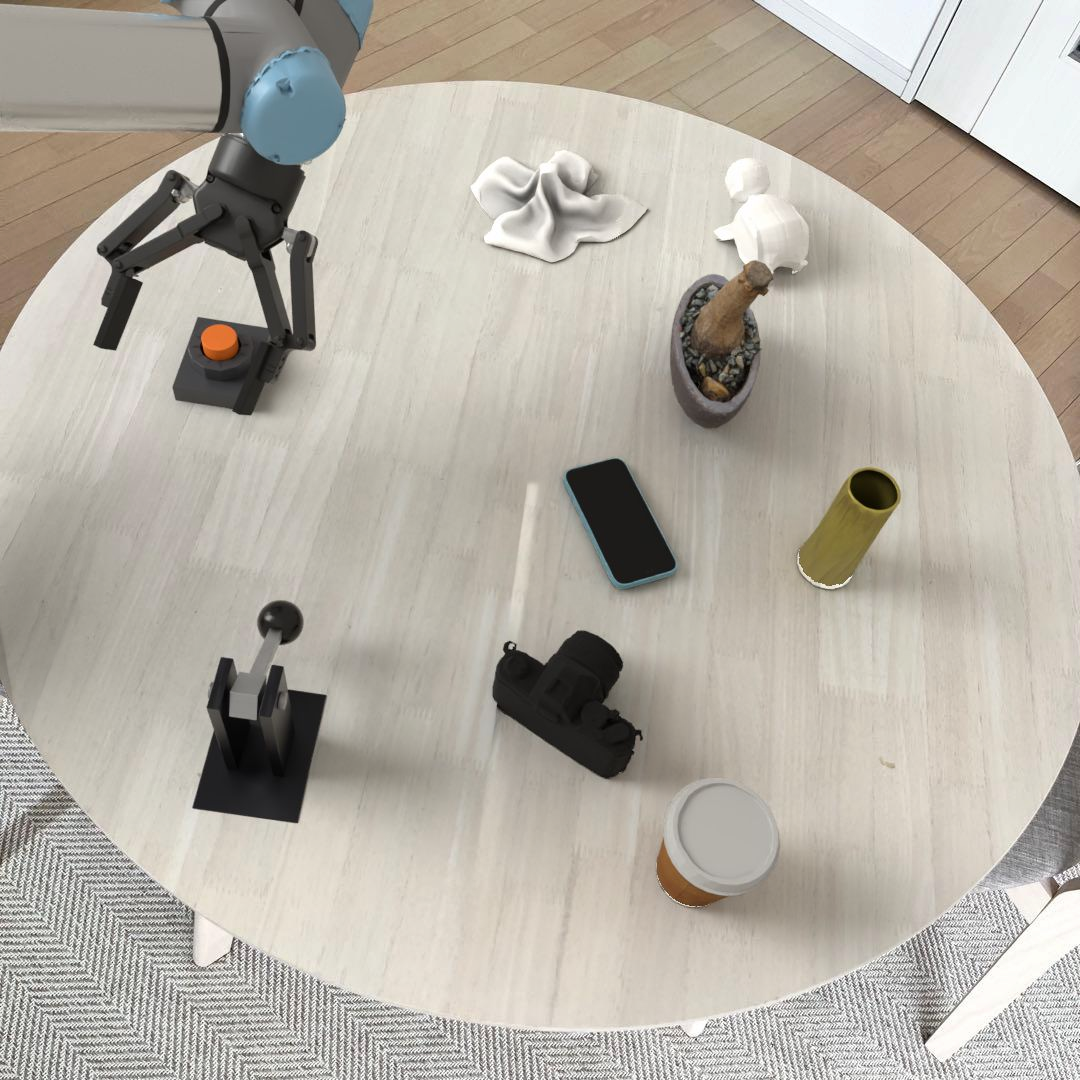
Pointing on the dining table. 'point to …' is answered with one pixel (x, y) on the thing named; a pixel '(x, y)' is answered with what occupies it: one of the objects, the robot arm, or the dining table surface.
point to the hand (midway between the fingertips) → (172, 380)
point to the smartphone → (620, 523)
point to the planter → (717, 345)
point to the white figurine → (763, 220)
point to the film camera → (569, 701)
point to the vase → (849, 526)
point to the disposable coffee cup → (716, 842)
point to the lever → (265, 656)
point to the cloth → (546, 206)
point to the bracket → (259, 750)
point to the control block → (216, 366)
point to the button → (220, 342)
